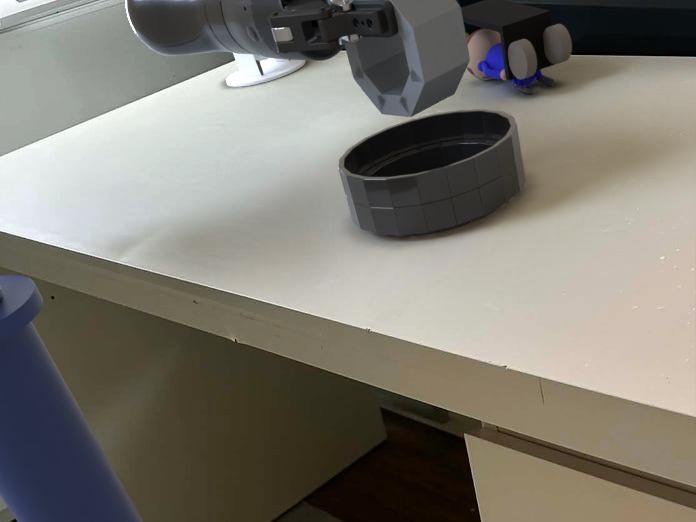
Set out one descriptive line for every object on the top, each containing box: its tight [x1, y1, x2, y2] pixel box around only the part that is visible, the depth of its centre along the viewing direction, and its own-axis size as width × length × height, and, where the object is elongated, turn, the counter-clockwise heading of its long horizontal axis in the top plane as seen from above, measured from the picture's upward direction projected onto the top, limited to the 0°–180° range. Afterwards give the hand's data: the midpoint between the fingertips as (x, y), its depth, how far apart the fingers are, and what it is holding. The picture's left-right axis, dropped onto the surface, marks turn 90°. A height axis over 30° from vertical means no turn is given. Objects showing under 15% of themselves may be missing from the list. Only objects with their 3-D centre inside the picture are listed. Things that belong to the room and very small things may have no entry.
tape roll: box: [344, 0, 470, 118], centre depth 73 cm, size 9×5×9 cm, turn 46°
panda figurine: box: [225, 53, 306, 88], centre depth 125 cm, size 12×11×15 cm
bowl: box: [337, 108, 526, 238], centre depth 79 cm, size 15×15×5 cm
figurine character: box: [461, 0, 573, 96], centre depth 100 cm, size 7×8×15 cm
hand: (419, 6), depth 70 cm, fingers closed on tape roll, 5 cm apart
